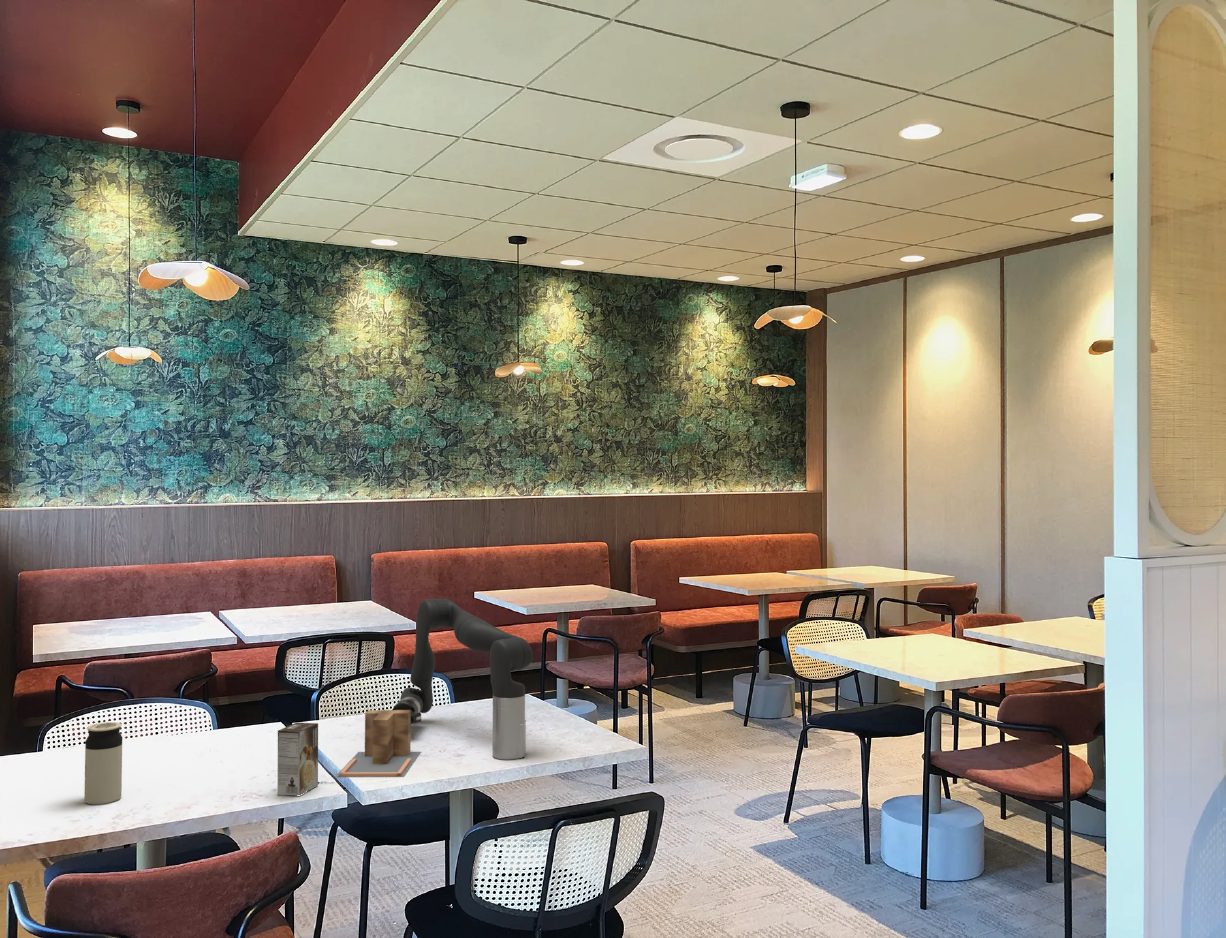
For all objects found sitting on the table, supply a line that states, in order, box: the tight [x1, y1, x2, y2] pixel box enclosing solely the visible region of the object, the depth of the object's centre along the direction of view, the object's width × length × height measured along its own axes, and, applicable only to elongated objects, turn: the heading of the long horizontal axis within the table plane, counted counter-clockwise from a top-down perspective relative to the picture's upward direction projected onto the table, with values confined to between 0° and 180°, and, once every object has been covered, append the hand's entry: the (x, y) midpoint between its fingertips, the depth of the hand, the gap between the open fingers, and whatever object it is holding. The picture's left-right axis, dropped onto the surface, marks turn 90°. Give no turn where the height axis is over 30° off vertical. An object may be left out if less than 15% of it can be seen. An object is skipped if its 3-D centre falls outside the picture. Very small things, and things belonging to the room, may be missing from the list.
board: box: [334, 751, 422, 778], centre depth 262 cm, size 18×25×2 cm
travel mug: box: [83, 721, 123, 806], centre depth 234 cm, size 8×8×18 cm
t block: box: [364, 709, 412, 764], centre depth 268 cm, size 12×12×12 cm
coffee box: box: [276, 722, 319, 796], centre depth 242 cm, size 9×6×16 cm
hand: (394, 724), depth 280 cm, fingers closed
